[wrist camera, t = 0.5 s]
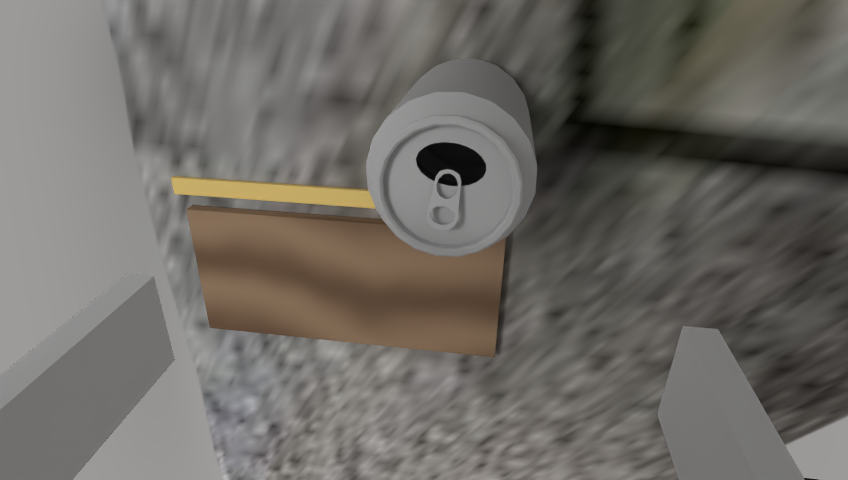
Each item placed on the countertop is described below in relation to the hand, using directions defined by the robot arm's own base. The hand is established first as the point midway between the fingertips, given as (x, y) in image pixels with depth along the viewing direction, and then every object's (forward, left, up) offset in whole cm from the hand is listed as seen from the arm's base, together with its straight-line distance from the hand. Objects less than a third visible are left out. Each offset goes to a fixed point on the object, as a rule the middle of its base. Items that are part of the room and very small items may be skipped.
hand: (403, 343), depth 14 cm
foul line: (+5, -8, -21) cm, 24 cm away
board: (+12, -8, -21) cm, 26 cm away
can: (0, 0, -22) cm, 22 cm away
